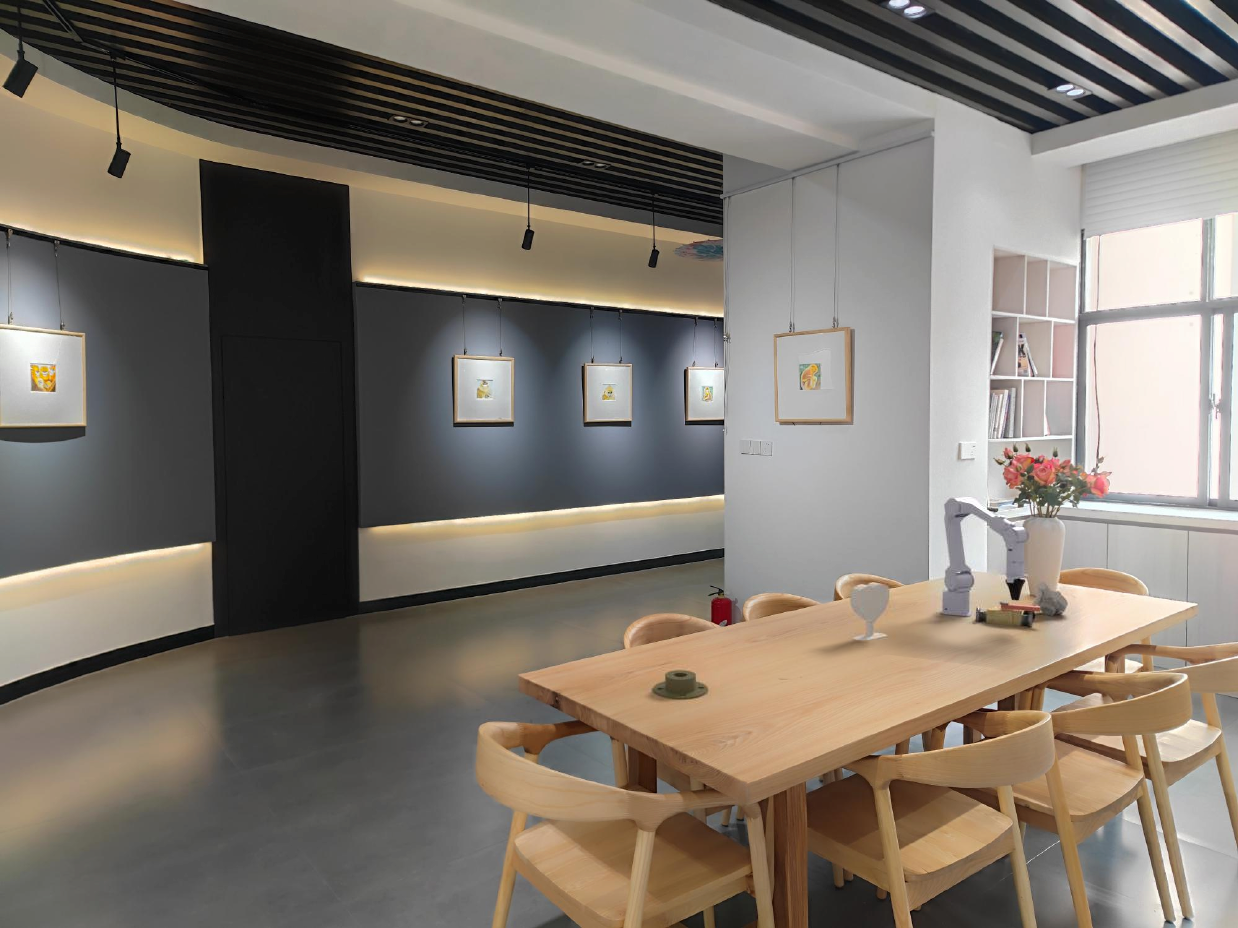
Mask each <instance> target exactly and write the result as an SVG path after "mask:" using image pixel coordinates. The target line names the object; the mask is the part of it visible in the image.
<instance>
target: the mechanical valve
mask: <svg viewBox="0 0 1238 928" xmlns="http://www.w3.org/2000/svg"><path fill="white" fill-rule="evenodd" d="M1037 588H1038V591H1037V594H1036V596H1035V597H1034V600H1033V601H1032V604H1031V606H1040V612H1041V613H1043V614H1044V615H1047V616H1054V615H1055V614H1056V615H1063V614H1064V612H1065V611H1066V609H1067V607H1068V601H1067V599H1066V598H1065V596H1063V594H1062V593H1061V591H1058V590H1052V589H1051V587H1050V585H1049V584H1048V582H1045V581H1043V582H1039V583H1038V584H1037ZM1029 612H1032V613H1033V621H1034V620H1035V619H1036V611H1022V615H1029Z"/></svg>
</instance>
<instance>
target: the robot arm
mask: <svg viewBox="0 0 1238 928" xmlns="http://www.w3.org/2000/svg"><path fill="white" fill-rule="evenodd" d="M943 506H944V512H945V513H944V521H943V522H944V528H945V536H946V545H947V552H948V560H949V566H948V567H947V568H946V569H945V570H944V573H945V574H944V575H945V576H944V579H943V582H944V586H945V587H946V589H945V588H944V589H943V590H942V602H941V603H942V605H941V608H942V609H941V611H942V612H941V614H942V615H950V616H951V615H952V616H958V617H959V616H961V617H970V616H971V614H972V612H973V611H972V610H970V605H971V603H970V596H971V595H970V594H971V593H970V591H971V590H972V588H973V587H974V584H975V576H974V575H973V572H972V569H971V567H970V566H968V564H967V563H966V557H965V550H964V540H963V534H962V527H961V525H962V524H961V523H962V521H964V519H965V518H967V517H968V516H970V515H973V516H976V517H977V518H979V519H980V520H983V521H984V522H986V523H988V527H989V529H991V530H992V531H993V532H994V533H996V534H998V535H1000V536H1001V537H1002V540H1003V541H1004V543H1005V548H1006V562H1005V563H1006V570H1005V571H1006V572H1005V576H1006V579H1005V583H1006V585H1007V588H1008V590H1009V595H1010V599H1011V601H1015V602H1017V601H1019V600H1020V597H1021V593H1022V589H1023V587H1024V584H1025V583H1026V579H1024V578H1029V574H1025V572H1026V571H1025V567H1026V566H1025V564H1026V563H1025V562H1026V560H1025V559H1026V555H1025V553H1026V548H1025V547H1026V542H1028V540H1029V538H1030V537H1029V536H1030V535H1029V534H1030V533H1029V531H1028V529H1026V528H1025V526H1023V525H1020V526H1019V525H1016V523H1015V522H1011V521H1009V520H1008V519H1006V516H1005V515H1004V514H1002V515H999V514H997V515H995V514H993V513H992V512H990V511H989V510H988V509H986V508H985V507H984V506H983V505H981V504H980V503H979V501H978V500H977V499H974V498H973V497H971V496H966V497H949V499H947V500H946V501H945V503H944V504H943Z"/></svg>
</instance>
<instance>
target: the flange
mask: <svg viewBox="0 0 1238 928" xmlns="http://www.w3.org/2000/svg"><path fill="white" fill-rule="evenodd" d="M708 692H709V688H708V686H707V684H704V683H702V682H700V681H697V675H696V672H693V671H690V670H686V669H685V670H684V669H677V670H670V671H667V672H666V673H665V674H664V681H661V682H658V683H656V684H655V685H654V686H653V693H654V694H655V695H656V696H657V695H658V696H660V697H662V698H667V699H673V700H692V699H697V698H701V697H703V696H706V695H707V693H708Z"/></svg>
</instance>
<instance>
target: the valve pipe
mask: <svg viewBox="0 0 1238 928" xmlns="http://www.w3.org/2000/svg"><path fill="white" fill-rule="evenodd" d="M1033 621H1034V620H1033V613H1032V612H1029V615H1023V610H1011V609H1001V606H994V607H993V606H987V608H986V610H985V611H984V610H981V607H979V606H977V607H976V609H975V622H976V623H980V622H986V623H987V624H993V625H1001V626H1016V627H1021V626H1028V628H1032V627H1033V623H1034V622H1033Z"/></svg>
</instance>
